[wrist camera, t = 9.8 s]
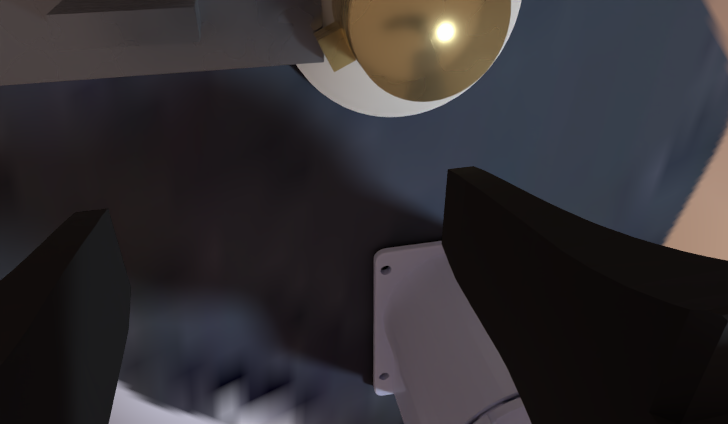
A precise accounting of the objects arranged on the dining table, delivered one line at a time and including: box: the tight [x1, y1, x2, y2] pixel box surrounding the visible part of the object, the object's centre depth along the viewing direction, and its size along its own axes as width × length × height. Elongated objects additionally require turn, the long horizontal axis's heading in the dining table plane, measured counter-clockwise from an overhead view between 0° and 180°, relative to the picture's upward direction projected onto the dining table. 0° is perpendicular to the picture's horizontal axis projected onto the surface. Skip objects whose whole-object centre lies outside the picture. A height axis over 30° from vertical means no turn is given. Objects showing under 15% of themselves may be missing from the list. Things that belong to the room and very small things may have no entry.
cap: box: [313, 0, 511, 102], centre depth 19 cm, size 7×5×4 cm
